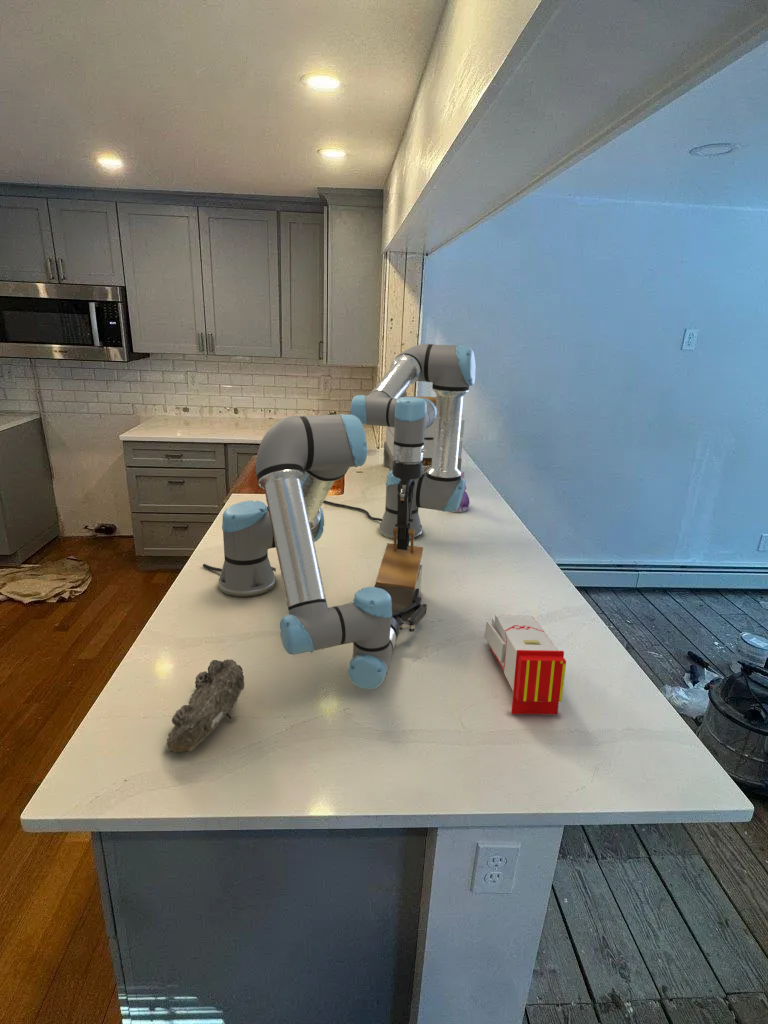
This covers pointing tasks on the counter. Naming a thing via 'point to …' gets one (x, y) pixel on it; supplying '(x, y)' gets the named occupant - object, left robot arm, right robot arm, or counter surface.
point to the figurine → (463, 499)
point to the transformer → (427, 442)
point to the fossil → (206, 705)
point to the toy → (527, 663)
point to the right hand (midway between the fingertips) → (402, 547)
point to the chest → (402, 593)
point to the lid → (400, 564)
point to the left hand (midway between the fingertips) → (397, 590)
